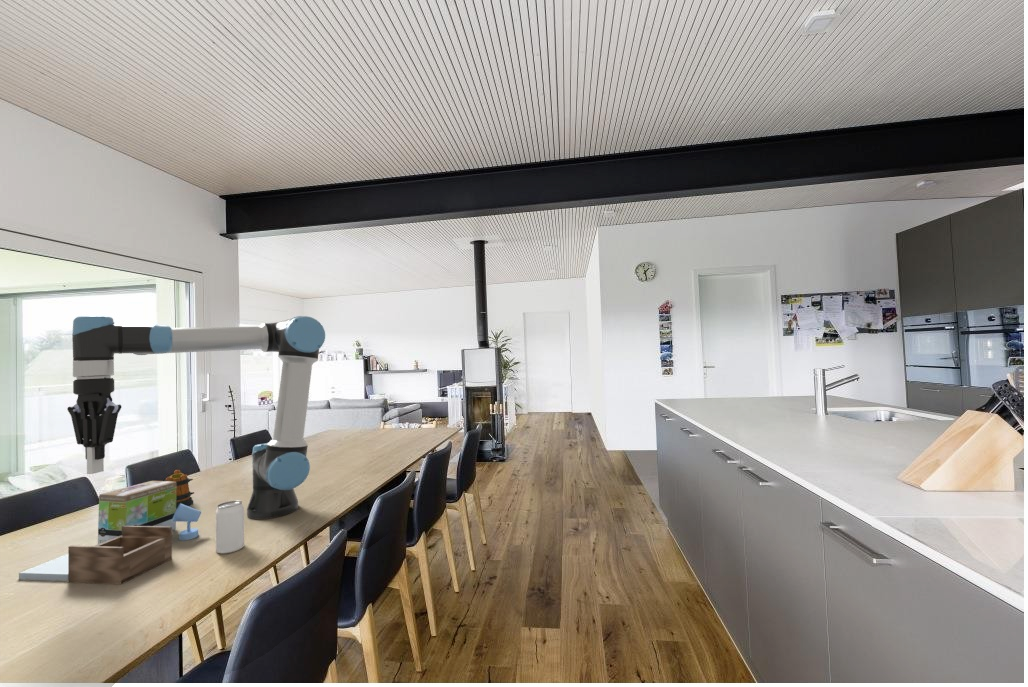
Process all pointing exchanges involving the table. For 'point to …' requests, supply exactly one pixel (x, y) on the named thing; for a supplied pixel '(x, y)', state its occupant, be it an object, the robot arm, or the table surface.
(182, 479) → the mug
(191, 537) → the spotlight
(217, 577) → the table surface
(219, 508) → the can
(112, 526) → the tea box
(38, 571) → the cover plate
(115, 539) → the walnut box
